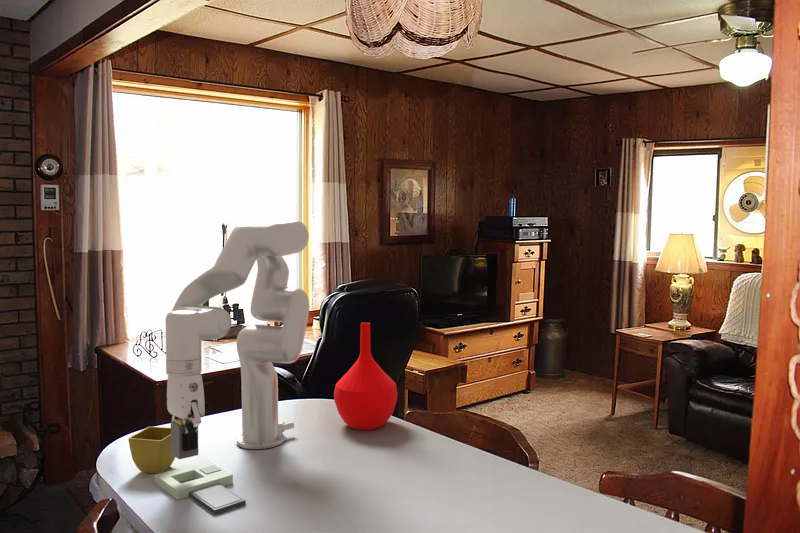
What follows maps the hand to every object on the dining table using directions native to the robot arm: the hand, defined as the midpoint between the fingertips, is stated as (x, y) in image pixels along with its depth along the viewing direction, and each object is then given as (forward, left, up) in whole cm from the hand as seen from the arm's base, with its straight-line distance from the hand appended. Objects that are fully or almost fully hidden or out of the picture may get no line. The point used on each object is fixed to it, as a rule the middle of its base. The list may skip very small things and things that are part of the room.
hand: (184, 446), depth 148 cm
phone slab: (-2, +12, -9) cm, 15 cm away
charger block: (0, 0, -2) cm, 2 cm away
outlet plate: (-2, 0, -9) cm, 10 cm away
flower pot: (+1, -14, -10) cm, 17 cm away
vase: (-58, -6, -10) cm, 59 cm away
